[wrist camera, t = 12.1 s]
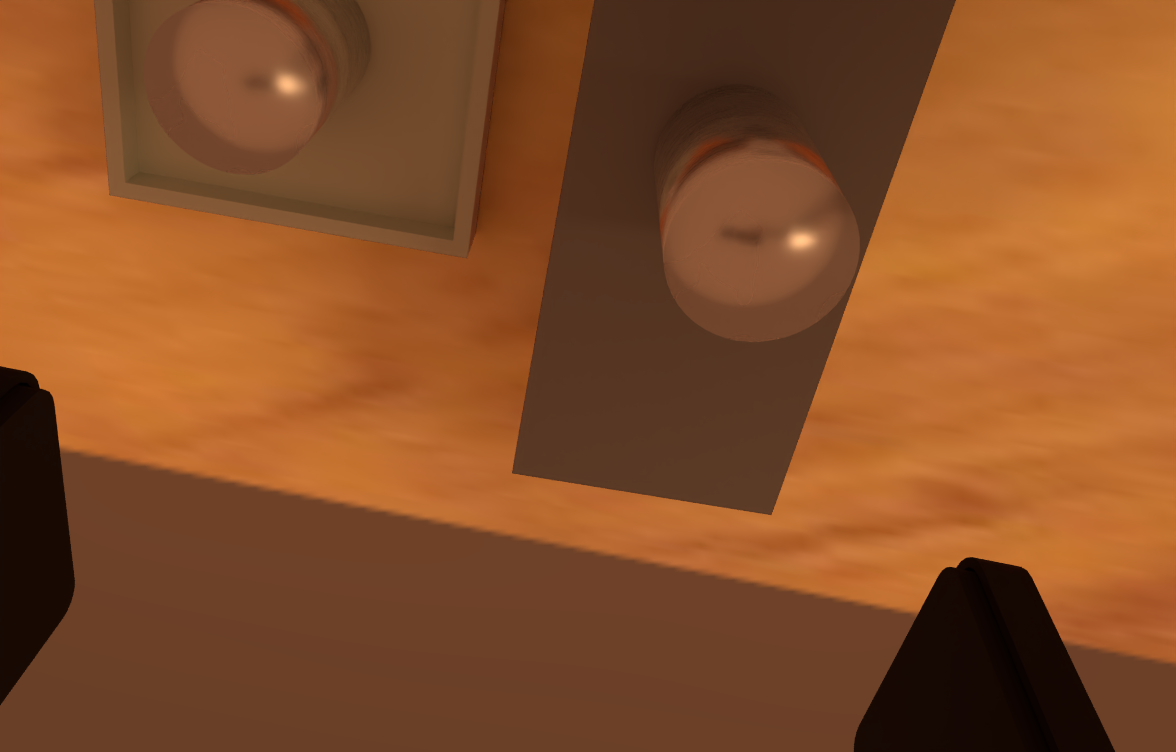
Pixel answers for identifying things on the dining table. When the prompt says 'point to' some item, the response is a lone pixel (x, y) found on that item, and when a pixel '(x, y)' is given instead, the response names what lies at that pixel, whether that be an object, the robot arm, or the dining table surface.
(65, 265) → the dining table surface
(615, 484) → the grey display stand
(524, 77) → the dining table surface
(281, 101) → the cylinder
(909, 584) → the dining table surface
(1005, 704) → the robot arm
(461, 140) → the grey square tray
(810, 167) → the knob
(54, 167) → the dining table surface
